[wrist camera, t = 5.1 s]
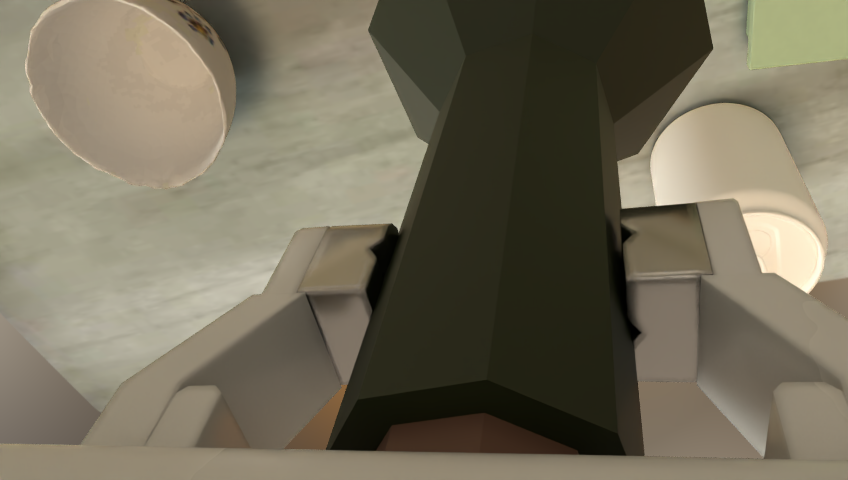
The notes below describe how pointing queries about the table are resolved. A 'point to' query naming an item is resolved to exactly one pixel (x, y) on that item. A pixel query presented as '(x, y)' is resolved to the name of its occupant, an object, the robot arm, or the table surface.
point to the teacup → (133, 87)
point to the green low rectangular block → (796, 32)
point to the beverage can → (744, 184)
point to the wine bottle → (515, 224)
